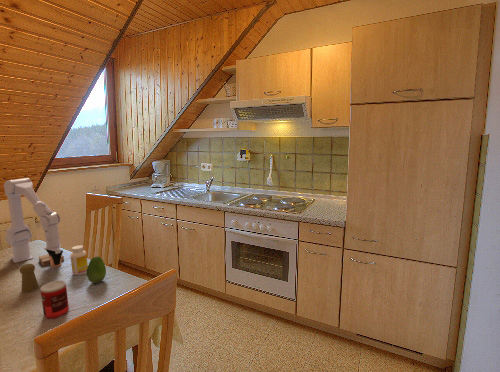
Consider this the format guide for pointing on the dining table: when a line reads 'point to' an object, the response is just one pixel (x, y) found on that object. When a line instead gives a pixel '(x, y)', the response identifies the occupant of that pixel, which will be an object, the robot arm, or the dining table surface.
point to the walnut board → (47, 259)
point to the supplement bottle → (78, 260)
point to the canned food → (54, 299)
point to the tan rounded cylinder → (53, 263)
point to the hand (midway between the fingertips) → (55, 263)
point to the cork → (28, 278)
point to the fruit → (96, 270)
